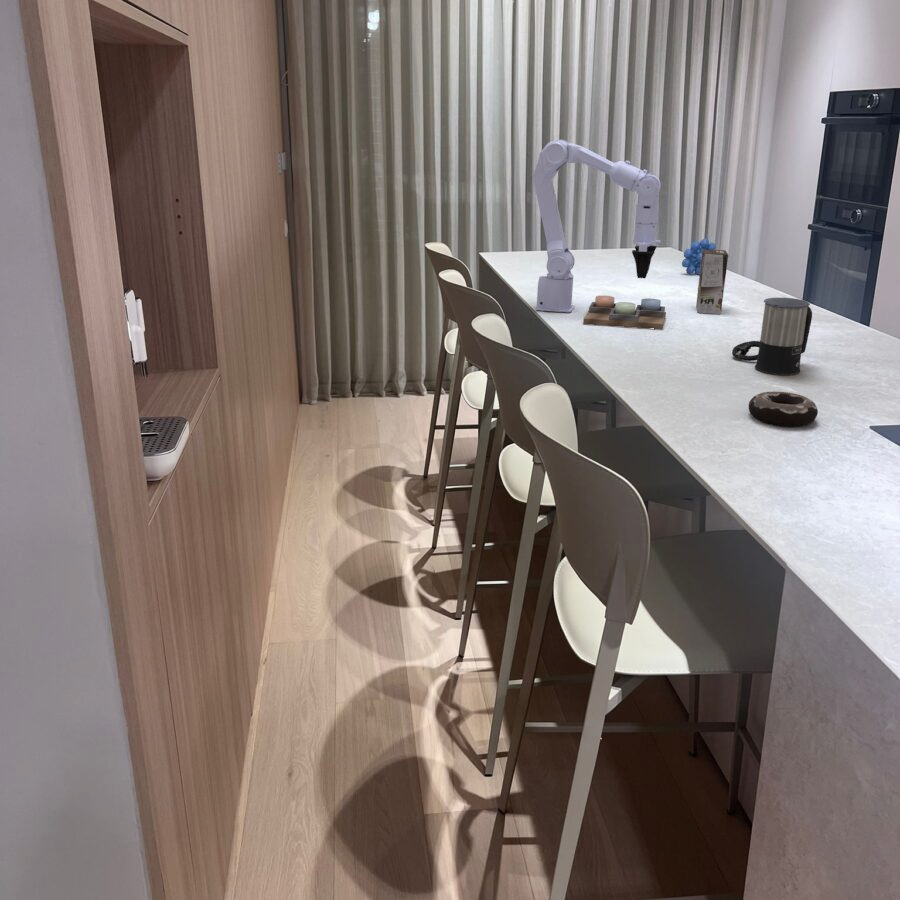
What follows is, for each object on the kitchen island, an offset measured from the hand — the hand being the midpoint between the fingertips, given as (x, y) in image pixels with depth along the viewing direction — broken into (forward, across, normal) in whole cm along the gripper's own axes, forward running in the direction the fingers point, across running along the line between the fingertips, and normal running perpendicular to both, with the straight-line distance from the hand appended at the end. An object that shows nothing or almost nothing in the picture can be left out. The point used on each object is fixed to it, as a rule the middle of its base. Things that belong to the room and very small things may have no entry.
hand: (642, 275), depth 237 cm
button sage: (+8, -12, +3) cm, 15 cm away
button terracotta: (+8, -5, +9) cm, 13 cm away
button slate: (+8, -5, -3) cm, 10 cm away
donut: (+12, -80, -31) cm, 87 cm away
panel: (+10, -8, +3) cm, 14 cm away
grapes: (+11, +71, -14) cm, 73 cm away
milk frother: (+11, -43, -30) cm, 53 cm away
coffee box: (+11, +12, -18) cm, 24 cm away
